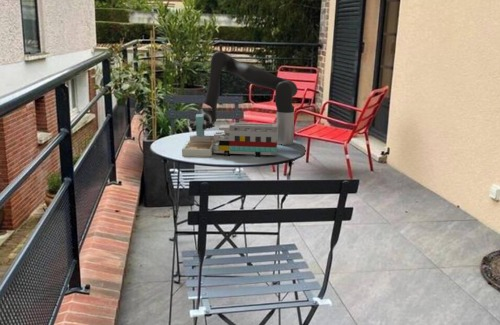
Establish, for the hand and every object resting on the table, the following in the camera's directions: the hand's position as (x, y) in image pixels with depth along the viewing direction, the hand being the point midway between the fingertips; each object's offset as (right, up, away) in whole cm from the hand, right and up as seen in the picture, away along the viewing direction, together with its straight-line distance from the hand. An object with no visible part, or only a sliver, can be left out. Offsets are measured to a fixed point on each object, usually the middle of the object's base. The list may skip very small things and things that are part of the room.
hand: (199, 127), depth 243 cm
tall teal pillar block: (0, -5, +7) cm, 9 cm away
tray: (0, -13, -1) cm, 13 cm away
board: (0, -9, +13) cm, 16 cm away
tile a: (+2, -10, -1) cm, 10 cm away
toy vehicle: (+23, -14, -2) cm, 27 cm away
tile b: (-3, -10, -1) cm, 10 cm away
